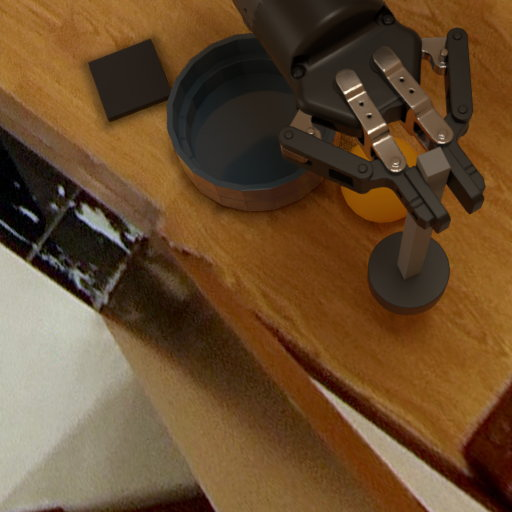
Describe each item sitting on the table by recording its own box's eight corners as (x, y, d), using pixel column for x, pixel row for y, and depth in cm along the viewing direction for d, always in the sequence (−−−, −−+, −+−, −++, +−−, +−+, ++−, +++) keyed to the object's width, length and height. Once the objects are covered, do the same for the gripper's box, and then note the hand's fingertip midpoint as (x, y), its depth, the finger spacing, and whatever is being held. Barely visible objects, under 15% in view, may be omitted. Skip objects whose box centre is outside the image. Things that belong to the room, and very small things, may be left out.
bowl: (304, 41, 88) (301, 8, 82) (365, 176, 83) (367, 151, 77) (157, 98, 88) (144, 69, 82) (209, 237, 83) (199, 216, 77)
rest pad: (152, 42, 90) (150, 38, 89) (173, 97, 88) (172, 94, 87) (89, 66, 90) (87, 62, 89) (109, 122, 88) (107, 118, 87)
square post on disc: (426, 228, 71) (462, 92, 48) (459, 297, 69) (513, 189, 46) (354, 257, 71) (357, 134, 48) (386, 327, 69) (404, 233, 46)
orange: (332, 164, 84) (330, 131, 77) (411, 146, 84) (417, 111, 76) (350, 239, 81) (351, 213, 74) (432, 222, 81) (440, 193, 74)
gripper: (196, 17, 50) (358, 260, 44) (397, -99, 51) (579, 126, 45) (216, 80, 57) (357, 295, 52) (391, -22, 58) (548, 180, 52)
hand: (460, 215), depth 48 cm, fingers closed on square post on disc
